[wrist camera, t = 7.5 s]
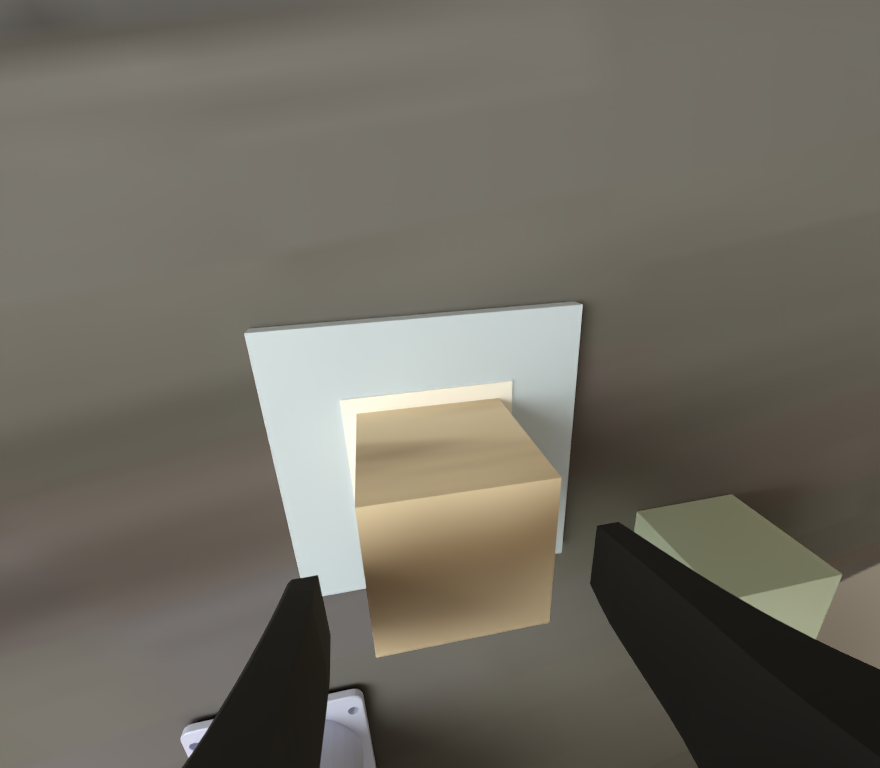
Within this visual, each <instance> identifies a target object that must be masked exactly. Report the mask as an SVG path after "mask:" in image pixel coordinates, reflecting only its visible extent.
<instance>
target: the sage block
mask: <svg viewBox="0 0 880 768" xmlns="http://www.w3.org/2000/svg"><path fill="white" fill-rule="evenodd" d="M634 532H635V533H636V534H638V535H640V536H641V537H643V538H644V539H646V540H647V541H649V542H650V543H652V544H653V545H655V546H656V547H658V548H659V549H661V550H662V551H664V552H666V553H667V554H669V555H670V556H672V557H673V558H675V559H676V560H678V561H679V562H681V563H682V564H684V565H686V566H687V567H689V568H690V569H692V570H693V571H695V572H697V573H698V574H700V575H701V576H703V577H705V578H706V579H708V580H709V581H711V582H713V583H714V584H716V585H718V586H719V587H721V588H723V589H724V590H726V591H728V592H729V593H731V594H733V595H734V596H736V597H738V598H740V599H741V600H743V601H745V602H747V603H748V604H750V605H752V606H753V607H755V608H757V609H759V610H760V611H762V612H764V613H766V614H768V615H770V616H771V617H773V618H775V619H777V620H779V621H781V622H783V623H784V624H786V625H788V626H790V627H792V628H794V629H796V630H798V631H800V632H802V633H804V634H806V635H808V636H810V637H812V638H814V639H816V638H817V635H818V633H819V630H820V628H821V625H822V623H823V621H824V618H825V616H826V613H827V611H828V608H829V606H830V604H831V601H832V599H833V596H834V594H835V591H836V589H837V587H838V584H839V582H840V579H841V577H842V574H841V573H840V572H839V571H837V570H836V569H835V568H833V567H832V566H830V565H829V564H828V563H826V562H825V561H823V560H822V559H821V558H819V557H818V556H817V555H815V554H814V553H812V552H811V551H810V550H808V549H807V548H805V547H804V546H803V545H801V544H800V543H799V542H797V541H796V540H794V539H793V538H792V537H790V536H789V535H787V534H786V533H785V532H783V531H782V530H781V529H779V528H778V527H776V526H775V525H774V524H772V523H771V522H769V521H768V520H767V519H765V518H764V517H763V516H761V515H760V514H758V513H757V512H756V511H754V510H753V509H752V508H750V507H749V506H747V505H746V504H745V503H743V502H742V501H740V500H739V499H738V498H736V497H735V496H734V495H732V494H731V495H725V496H719V497H714V498H708V499H703V500H697V501H692V502H686V503H681V504H675V505H670V506H664V507H659V508H653V509H648V510H642V511H637V515H636V522H635V528H634Z"/></svg>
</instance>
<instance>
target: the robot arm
mask: <svg viewBox="0 0 880 768" xmlns="http://www.w3.org/2000/svg"><path fill="white" fill-rule="evenodd" d="M590 585H591V587H592V589H593V591H594V593H595V595H596V597H597V599H598V601H599V603H600V605H601V607H602V609H603V611H604V613H605V615H606V617H607V619H608V621H609V623H610V625H611V626H612V628H613V630H614V631H615V633H616V634H617V636H618V637H619V639H620V641H621V642H622V644H623V645H624V647H625V649H626V650H627V652H628V653H629V655H630V656H631V658H632V659H633V661H634V663H635V664H636V666H637V667H638V669H639V670H640V672H641V673H642V675H643V676H644V678H645V680H646V681H647V683H648V684H649V686H650V687H651V689H652V690H653V692H654V694H655V695H656V697H657V698H658V700H659V701H660V703H661V704H662V706H663V707H664V709H665V711H666V712H667V714H668V715H669V717H670V718H671V720H672V722H673V723H674V725H675V727H676V728H677V730H678V732H679V733H680V735H681V737H682V738H683V740H684V742H685V744H686V746H687V747H688V749H689V751H690V753H691V755H692V757H693V759H694V760H695V762H696V764H697V766H698V768H880V669H877V668H875V667H873V666H871V665H868V664H866V663H864V662H862V661H860V660H858V659H855V658H853V657H851V656H849V655H847V654H844V653H842V652H840V651H838V650H836V649H834V648H832V647H830V646H828V645H826V644H824V643H822V642H820V641H818V640H816V639H814V638H812V637H810V636H808V635H806V634H804V633H802V632H800V631H798V630H796V629H794V628H792V627H790V626H788V625H786V624H784V623H783V622H781V621H779V620H777V619H775V618H773V617H771V616H770V615H768V614H766V613H764V612H762V611H760V610H759V609H757V608H755V607H753V606H752V605H750V604H748V603H747V602H745V601H743V600H741V599H740V598H738V597H736V596H734V595H733V594H731V593H729V592H728V591H726V590H724V589H723V588H721V587H719V586H718V585H716V584H714V583H713V582H711V581H709V580H708V579H706V578H705V577H703V576H701V575H700V574H698V573H697V572H695V571H693V570H692V569H690V568H689V567H687V566H686V565H684V564H682V563H681V562H679V561H678V560H676V559H675V558H673V557H672V556H670V555H669V554H667V553H666V552H664V551H662V550H661V549H659V548H658V547H656V546H655V545H653V544H652V543H650V542H649V541H647V540H646V539H644V538H643V537H641V536H640V535H638V534H636V533H635V532H633V531H632V530H630V529H629V528H627V527H625V526H624V525H622V524H621V523H619V522H616V523H610V524H604V525H599V526H597V531H596V539H595V548H594V556H593V565H592V573H591V582H590ZM329 682H330V631H329V626H328V621H327V616H326V612H325V607H324V602H323V597H322V592H321V587H320V583H319V578H318V575H316V576H310V577H304V578H299V579H293V580H291V581H290V582H289V583H288V584H287V586H286V589H285V591H284V593H283V595H282V597H281V599H280V601H279V604H278V606H277V608H276V610H275V612H274V614H273V616H272V618H271V620H270V622H269V624H268V626H267V628H266V629H265V631H264V633H263V635H262V637H261V639H260V641H259V643H258V644H257V646H256V648H255V650H254V652H253V653H252V655H251V657H250V659H249V661H248V662H247V664H246V666H245V668H244V670H243V671H242V673H241V675H240V677H239V678H238V680H237V682H236V684H235V685H234V687H233V689H232V690H231V692H230V693H229V695H228V697H227V698H226V700H225V702H224V703H223V705H222V707H221V708H220V710H219V711H218V713H217V715H216V716H215V718H214V719H211V720H207V721H202V722H197V723H193V724H190V725H188V726H187V727H185V728H184V730H183V733H182V736H181V743H182V745H183V747H184V749H185V751H186V753H187V755H188V760H187V761H186V763H185V764H184V766H183V767H182V768H376V763H375V757H374V752H373V746H372V741H371V735H370V729H369V724H368V718H367V713H366V707H365V702H364V696H363V693H362V691H360V690H359V689H349V690H344V691H340V692H335V693H331V694H328V693H329Z"/></svg>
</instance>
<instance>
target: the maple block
mask: <svg viewBox="0 0 880 768" xmlns="http://www.w3.org/2000/svg"><path fill="white" fill-rule="evenodd" d="M561 479H562V477H561V476H560V475H559V474H558V472H557V471H556V470H555V469H554V467H553V466H552V465H551V464H550V462H549V461H548V460H547V459H546V457H545V456H544V455H543V454H542V452H541V451H540V450H539V449H538V447H537V446H536V445H535V444H534V442H533V441H532V440H531V438H530V437H529V436H528V435H527V433H526V432H525V431H524V430H523V428H522V427H521V426H520V425H519V423H518V422H517V421H516V420H515V418H514V417H513V416H512V415H511V413H510V412H509V411H508V410H507V408H506V407H505V406H504V405H503V403H502V402H501V401H500V399H499V398H494V399H485V400H476V401H467V402H458V403H449V404H440V405H431V406H422V407H413V408H404V409H395V410H386V411H377V412H368V413H359V414H356V466H355V513H356V520H357V527H358V534H359V541H360V548H361V555H362V562H363V569H364V576H365V583H366V590H367V597H368V604H369V611H370V618H371V625H372V632H373V639H374V646H375V654H376V658H377V657H382V656H387V655H391V654H396V653H401V652H406V651H411V650H416V649H421V648H426V647H431V646H436V645H441V644H446V643H451V642H455V641H460V640H465V639H470V638H475V637H480V636H485V635H490V634H495V633H500V632H505V631H510V630H514V629H519V628H524V627H529V626H534V625H539V624H544V623H549V619H550V607H551V595H552V584H553V572H554V561H555V549H556V537H557V526H558V514H559V502H560V491H561Z"/></svg>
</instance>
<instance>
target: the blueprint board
mask: <svg viewBox="0 0 880 768" xmlns="http://www.w3.org/2000/svg"><path fill="white" fill-rule="evenodd" d="M582 308H583V304H580V303H577V302H575V301H573V302H561V303H549V304H537V305H525V306H513V307H501V308H489V309H477V310H465V311H454V312H442V313H430V314H418V315H406V316H394V317H382V318H370V319H358V320H346V321H334V322H322V323H310V324H299V325H287V326H275V327H263V328H251V329H248V330H247V331H246V332H245V333H244V335H245V339H246V344H247V348H248V352H249V357H250V361H251V365H252V370H253V374H254V378H255V383H256V387H257V392H258V396H259V400H260V405H261V409H262V413H263V418H264V422H265V426H266V431H267V435H268V439H269V444H270V448H271V452H272V457H273V461H274V465H275V470H276V474H277V478H278V483H279V487H280V491H281V496H282V500H283V504H284V509H285V513H286V517H287V522H288V526H289V530H290V535H291V539H292V543H293V548H294V552H295V556H296V561H297V565H298V569H299V574H300V578H304V577H310V576H316V575H318V578H319V583H320V587H321V592H322V596H326V595H332V594H337V593H343V592H348V591H354V590H359V589H365V588H366V583H365V576H364V569H363V562H362V555H361V548H360V541H359V534H358V527H357V520H356V513H355V466H356V414H359V413H368V412H377V411H386V410H395V409H404V408H413V407H422V406H431V405H440V404H449V403H458V402H467V401H476V400H485V399H494V398H499V399H500V401H501V402H502V403H503V405H504V406H505V407H506V408H507V410H508V411H509V412H510V413H511V415H512V416H513V417H514V418H515V420H516V421H517V422H518V423H519V425H520V426H521V427H522V428H523V430H524V431H525V432H526V433H527V435H528V436H529V437H530V438H531V440H532V441H533V442H534V444H535V445H536V446H537V447H538V449H539V450H540V451H541V452H542V454H543V455H544V456H545V457H546V459H547V460H548V461H549V462H550V464H551V465H552V466H553V467H554V469H555V470H556V471H557V472H558V474H559V475H560V476H561V477H562V479H561V491H560V502H559V514H558V526H557V537H556V549H555V554H557V553H562V543H563V531H564V520H565V508H566V496H567V484H568V473H569V461H570V449H571V437H572V425H573V414H574V402H575V390H576V378H577V367H578V355H579V343H580V331H581V319H582Z"/></svg>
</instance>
